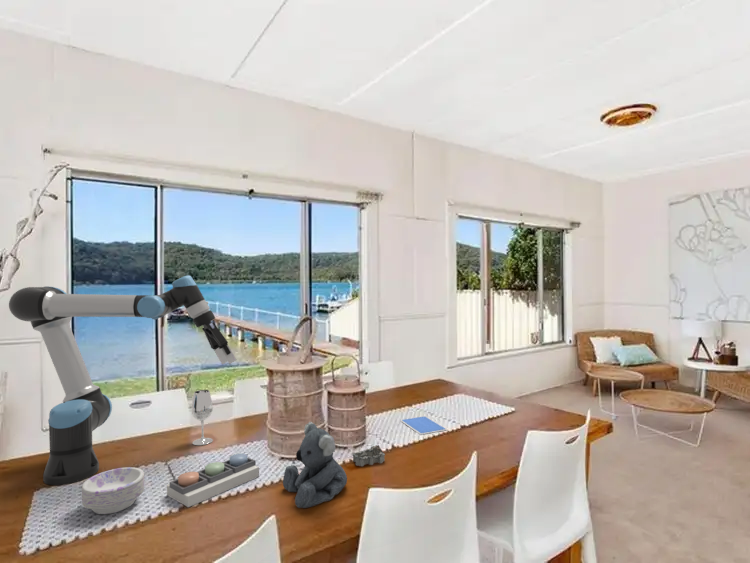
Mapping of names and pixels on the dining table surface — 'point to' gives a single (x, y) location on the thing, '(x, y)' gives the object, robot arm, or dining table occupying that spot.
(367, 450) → the egg carton
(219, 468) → the button sage
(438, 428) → the tablet computer
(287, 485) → the koala plush
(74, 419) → the robot arm
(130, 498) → the paper bowls
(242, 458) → the button slate
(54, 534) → the dining table surface
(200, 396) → the wineglass
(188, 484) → the button terracotta
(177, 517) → the dining table surface
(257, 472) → the console
